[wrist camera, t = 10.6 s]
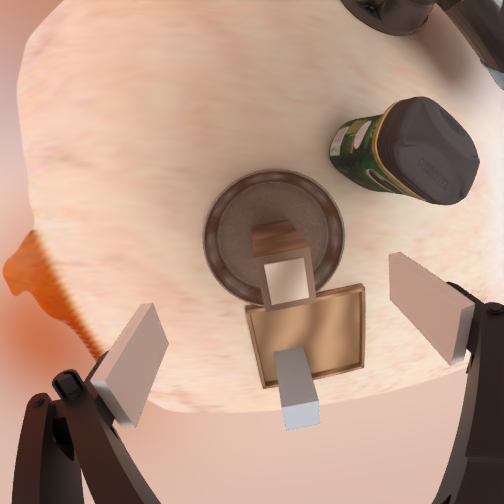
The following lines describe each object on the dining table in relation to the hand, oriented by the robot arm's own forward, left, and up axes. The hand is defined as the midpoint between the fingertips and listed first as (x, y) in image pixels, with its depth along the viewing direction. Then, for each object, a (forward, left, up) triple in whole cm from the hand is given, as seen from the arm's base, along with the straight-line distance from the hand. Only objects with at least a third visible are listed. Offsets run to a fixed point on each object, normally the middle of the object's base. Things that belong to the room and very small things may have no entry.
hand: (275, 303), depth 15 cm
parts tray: (-5, +19, -23) cm, 30 cm away
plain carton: (-1, +22, -23) cm, 32 cm away
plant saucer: (-2, +2, -24) cm, 24 cm away
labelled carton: (-1, +2, -20) cm, 21 cm away
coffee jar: (-15, -7, -23) cm, 29 cm away
